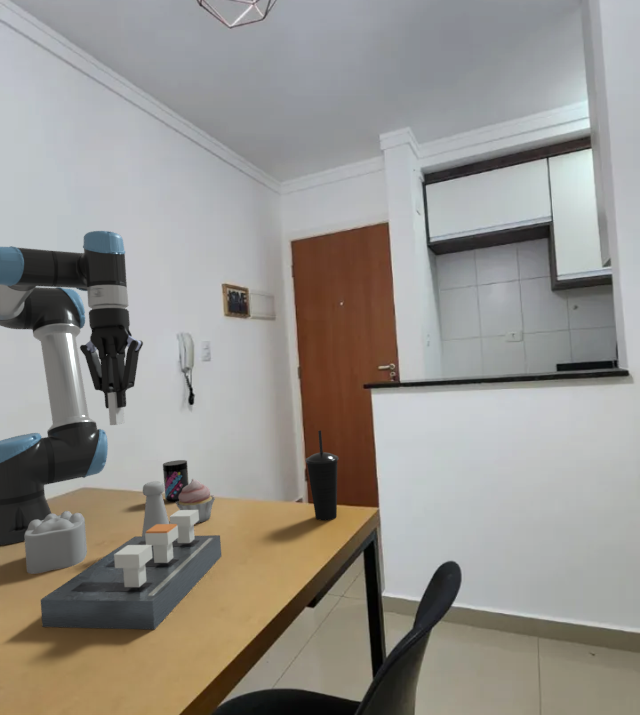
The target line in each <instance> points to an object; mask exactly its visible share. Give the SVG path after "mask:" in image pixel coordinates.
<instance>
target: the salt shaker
mask: <svg viewBox="0 0 640 715" xmlns="http://www.w3.org/2000/svg"><path fill="white" fill-rule="evenodd" d="M163 493H165V488H164V482H162V481H157V480H155V481H150V482H147V483H145V484H144V485H143V486H142V494H143V495H144V496H146V498H145V505H144V507H145V509H144V514H143V515H144V516H143V517H144V518H143V525H142V532H141V533H142V534H141V536H145V533H146V531H147V530H149V529H150V528H152V527H153V526H155V525H156V524H170V519H169V517H168V514H167V513H168V512H167V508H166V506H165V502H164V499H163V498H164V497H163Z"/></svg>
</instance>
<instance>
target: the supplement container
mask: <svg viewBox="0 0 640 715" xmlns="http://www.w3.org/2000/svg"><path fill="white" fill-rule="evenodd" d="M162 472H163V484H164V499H165V500H166V502H168V503H175V502H178V501H179V494H180V493H181V492H182V489H183V488H184V487H185V486H187V485H188V484H190V482H189V472H188V460H186V459H178V460H170V461H166V462H164V463H163V464H162Z"/></svg>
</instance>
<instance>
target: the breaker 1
mask: <svg viewBox="0 0 640 715" xmlns="http://www.w3.org/2000/svg"><path fill="white" fill-rule="evenodd" d="M150 559H152V545H127V546H126V547H124V548H123V549H121V550H120V551H119V552H117V553H116V554H114V561H115V568H123V572H124V585H125V587H140V586H141V585H142V584H144V583H145V582H146V568H145V563H147V562H148V561H149V560H150Z"/></svg>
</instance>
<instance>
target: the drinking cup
mask: <svg viewBox="0 0 640 715" xmlns="http://www.w3.org/2000/svg"><path fill="white" fill-rule="evenodd" d="M317 433H318V434H317V435H318V445H319V452H317V453H314V454H312V455H310V456H309V457H307V458H305V459H304V460H305V463H306V466H307V472H308V477H309V478H308V479H309V485H310V491H311V497H312V502H313V509H314V515H315V519H316V520H317V521H324V522H325V521H331V520H335V519H336V518H337V515H338V513H337V512H338V511H337V509H338V506H337V505H338V504H337V503H338V500H337V499H338V460H339V456H338V455H335V454H333V453H330V452H324V450H323V438H322V436H323V435H322V430H318V432H317Z"/></svg>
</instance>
